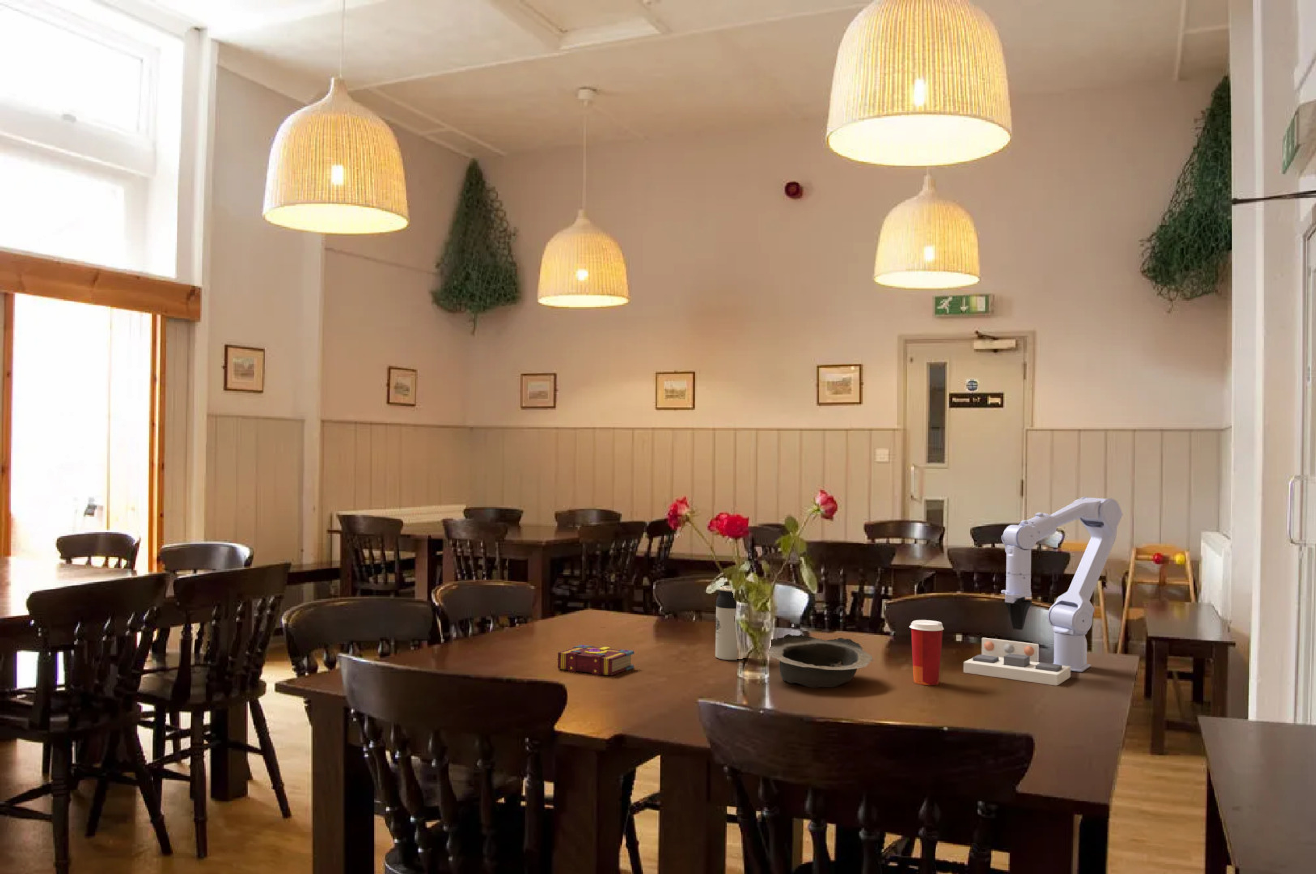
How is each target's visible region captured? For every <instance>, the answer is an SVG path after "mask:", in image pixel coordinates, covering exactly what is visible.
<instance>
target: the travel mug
mask: <svg viewBox="0 0 1316 874" xmlns="http://www.w3.org/2000/svg"><path fill="white" fill-rule="evenodd" d="M721 586H722V587H720V586H719V587H720V589H717V590H718V596H717V598H716V601H715V608H716V609H715V649H714V650H715V651H714V653H715V657H716V658H717V659H719V660H723V661H738V660H737V640H736V634H735V622H734V616H735V609H736V602H735V600H734V598H733V593H732V589H731V586H732V585H721Z"/></svg>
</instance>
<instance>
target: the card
mask: <svg viewBox="0 0 1316 874" xmlns="http://www.w3.org/2000/svg"><path fill="white" fill-rule="evenodd" d="M1039 646H1040V645H1039V644H1038V643H1031V642H1024V641H1016V640H1007V639H998V638H987V637H982V638H981V655H988V656H996V657H1000V658H1004V656H1005V655H1008V654H1010V653H1011V654H1019V655H1027V656H1030V661H1031V662H1039V661H1040V660H1039V659H1040V658H1039V657H1040V655H1039V654H1040V653H1039V652H1040V651H1039V650H1040V649H1039V648H1040V647H1039ZM1039 663H1040V662H1039Z"/></svg>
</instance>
